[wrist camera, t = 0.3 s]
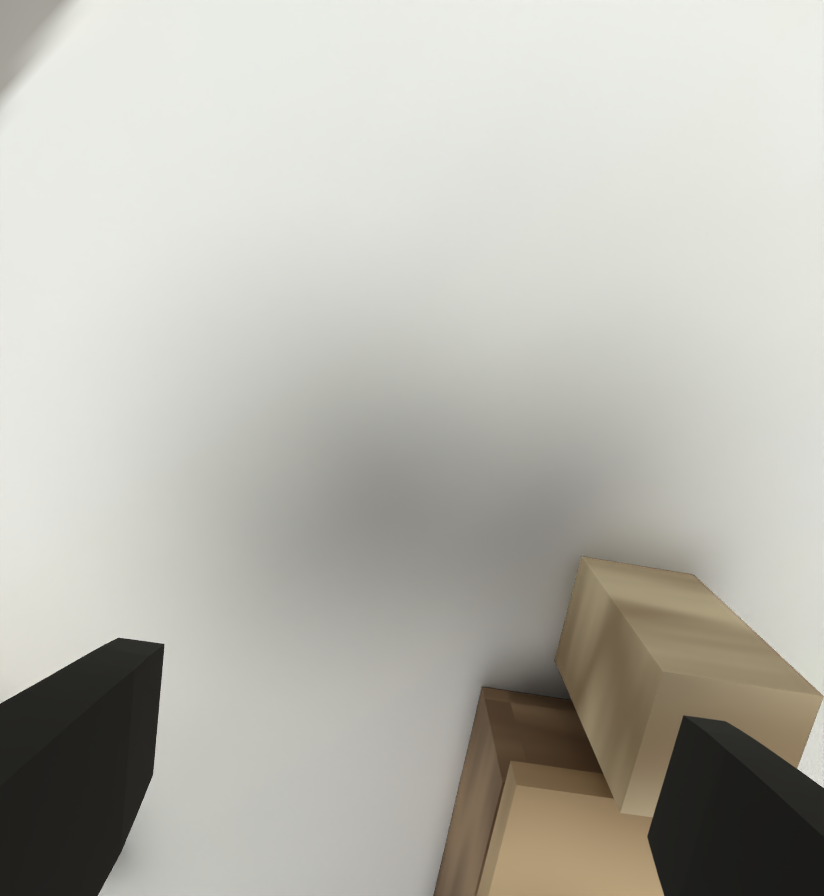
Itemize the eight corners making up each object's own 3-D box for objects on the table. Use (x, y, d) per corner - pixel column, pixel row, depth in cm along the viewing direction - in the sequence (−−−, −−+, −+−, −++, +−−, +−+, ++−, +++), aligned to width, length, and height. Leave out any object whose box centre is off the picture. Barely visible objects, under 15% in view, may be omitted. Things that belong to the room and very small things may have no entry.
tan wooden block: (663, 677, 20) (773, 834, 14) (554, 660, 20) (619, 812, 14) (693, 574, 19) (823, 696, 13) (581, 556, 19) (662, 671, 13)
